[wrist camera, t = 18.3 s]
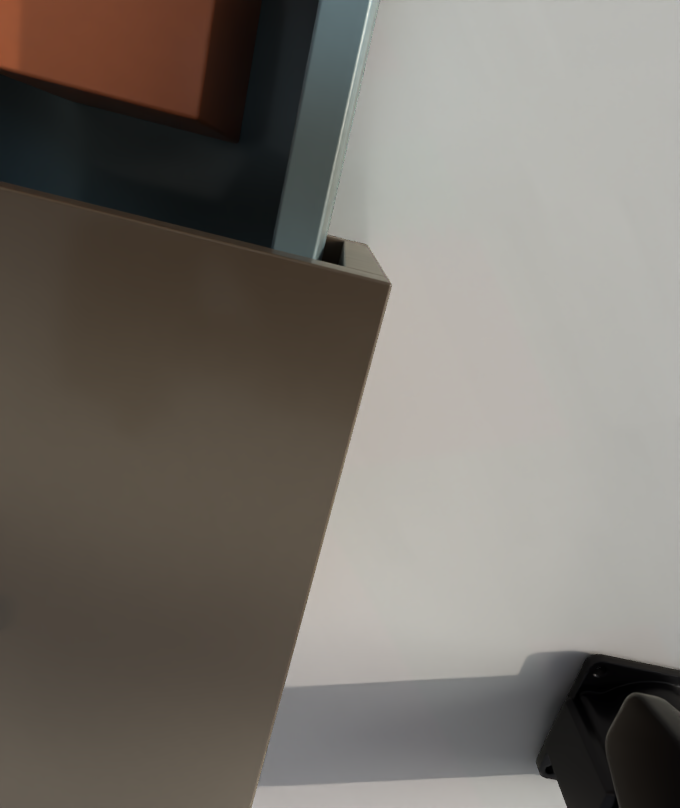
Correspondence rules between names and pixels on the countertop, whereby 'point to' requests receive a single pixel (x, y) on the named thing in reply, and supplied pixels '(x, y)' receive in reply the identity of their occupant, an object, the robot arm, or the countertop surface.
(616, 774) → the robot arm
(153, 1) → the block
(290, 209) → the drawer
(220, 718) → the cabinet
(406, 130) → the countertop surface
